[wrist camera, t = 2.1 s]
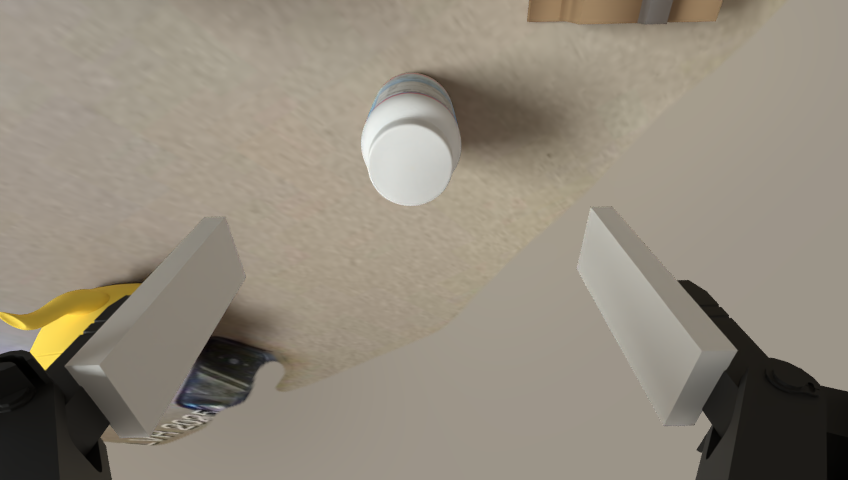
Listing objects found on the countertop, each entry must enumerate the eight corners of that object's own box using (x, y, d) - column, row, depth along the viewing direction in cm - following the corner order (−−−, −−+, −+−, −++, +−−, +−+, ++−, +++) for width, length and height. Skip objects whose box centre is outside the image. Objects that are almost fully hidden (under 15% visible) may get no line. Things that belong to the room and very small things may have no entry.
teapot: (55, 317, 42) (-41, 403, 33) (91, 239, 36) (-11, 317, 28) (182, 372, 47) (127, 459, 38) (230, 309, 41) (180, 395, 33)
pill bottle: (425, 163, 33) (427, 235, 23) (360, 124, 31) (333, 185, 21) (468, 99, 30) (490, 151, 20) (399, 52, 28) (388, 85, 19)
